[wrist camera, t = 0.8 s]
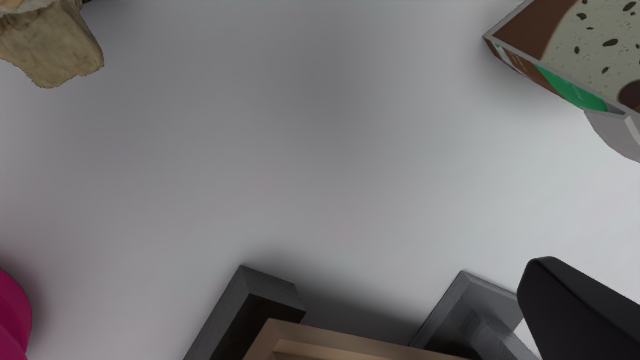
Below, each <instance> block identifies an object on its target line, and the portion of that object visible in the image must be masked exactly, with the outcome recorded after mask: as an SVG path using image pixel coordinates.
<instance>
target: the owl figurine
mask: <svg viewBox="0 0 640 360" xmlns="http://www.w3.org/2000/svg"><path fill="white" fill-rule="evenodd" d="M90 1H91V0H0V58H1V59H3V60H6V61H8V62H10V63H12V64H13V65H14V66H17V67H19V68H21V69H22V70H23V71H24V72H25V73H26V75H27V76H28V77H29V78H31V79H32V81H33V82H34V83H35V84H36V85H37V86H39V87H40V88H41V87H43V88H53V87H58V86H59V85H61V84H63V83H64V82H66V81H67V80H69V79H72V78H73V77H74V76H76V75H80V76H86V75H87V74H91V73H93V72H95V71H97V70H99V68H100V67H104V57H103V53H102V50H101V48H100V46H99V44H98V43H97V41H96V39H95V37H94V36H93V34H92V33H91V32H90V30H89V28H88V26H87V25H86V23H85V22H84V20H83V19H82V17H81V16H80V14H79V13H80V10H81V8H82V4H85V3H88V2H90Z"/></svg>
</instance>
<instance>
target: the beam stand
mask: <svg viewBox="0 0 640 360" xmlns="http://www.w3.org/2000/svg"><path fill="white" fill-rule="evenodd" d="M306 312H307V311H306V309H305V307H304V304H303V302H302V300H301V298H300V296H299V294H298V292H297V289H296V287H295V285H294V284H292V283H290V282H287V281H284V280H281V279H278V278H275V277H272V276H270V275H267V274H264V273H261V272H258V271H255V270H252V269H250V268H247V267H244V266H241V265H240V266H239V268H238V270H237V271H236V273H235V275H234V276H233V278H232V280H231V281H230V283H229V285H228V286H227V288H226V290H225V291H224V293H223V295H222V296H221V298H220V300H219V301H218V303H217V305H216V306H215V308H214V310H213V311H212V313H211V315H210V316H209V318H208V320H207V321H206V323H205V325H204V326H203V328H202V330H201V331H200V333H199V335H198V336H197V338H196V340H195V341H194V343H193V345H192V346H191V348H190V350H189V351H188V353H187V355H186V356H185V358H184V360H242V359H243V358H244V356H245V355H246V353H247V351H248V350H249V348H250V347H251V345H252V344H253V342H254V340H255V339H256V337H257V336H258V334H259V332H260V331H261V329H262V328H263V326H264V324H265V323H266V321H267V320H268V318H272V319H277V320H282V321H287V322H291V323H296V324H299V323H300V322H301V320H302V318H303V317H304V315H305V314H306ZM523 318H524V316H523V314H522V311H521V309H520V307H519V304H518V301H517V295H515V294H513V293H511V292H508V291H506V290H504V289H502V288H499V287H497V286H495V285H492V284H490V283H488V282H486V281H483V280H481V279H479V278H476V277H474V276H472V275H470V274H467V273H465V272H463V271H461V272H460V273H459V275H458V276H457V278H456V279H455V281H454V282H453V283H452V285H451V286H450V288H449V289H448V290H447V292H446V293H445V295H444V296H443V298H442V299H441V300H440V302H439V303H438V305H437V306H436V307H435V309H434V310H433V312H432V313H431V315H430V316H429V317H428V319H427V320H426V322H425V323H424V324H423V326H422V327H421V329H420V330H419V331H418V333H417V334H416V336H415V337H414V339H413V340H412V341H411V343H410V344H409V346H408V347H413V348H417V349H422V350H427V351H432V352H437V353H442V354H446V355H451V356H456V357H461V358H466V359H471V360H539V359H538V358H537V357H536V356H535V355H534V354H533V353H532V352H531V351H530V350H529V349H528V348H527V347H526V346H525V344H524V343H523V342H522V341H521V340H520V339H519V338H518V337H517V336H516V335H515V334H514V333H513V331H514V330H515V328H516V327H517V326H518V324H519V323H520V322H521V320H522V319H523Z"/></svg>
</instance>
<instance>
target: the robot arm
mask: <svg viewBox="0 0 640 360" xmlns="http://www.w3.org/2000/svg"><path fill="white" fill-rule="evenodd" d="M517 301H518V304H519V307H520V309H521V311H522V314H523V316H524V318H525V321H526V323H527V325H528V327H529V330H530V332H531V334H532V336H533V339H534V341H535V343H536V346H537V348H538V350H539V352H540V355H541V357H542V359H543V360H640V305H639V304H637V303H635V302H634V301H632V300H630V299H628V298H627V297H625V296H623V295H621V294H619V293H618V292H616V291H614V290H612V289H611V288H609V287H607V286H605V285H603V284H602V283H600V282H598V281H596V280H595V279H593V278H591V277H589V276H587V275H586V274H584V273H582V272H580V271H579V270H577V269H575V268H573V267H571V266H570V265H568V264H566V263H564V262H563V261H561V260H559V259H557V258H555V257H552V256H546V257H540V258H534V259H531V260H530V261H529V262H528V263H527V265H526V268H525V270H524V273H523V275H522V278H521V281H520V283H519V286H518V288H517Z"/></svg>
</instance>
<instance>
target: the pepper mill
mask: <svg viewBox="0 0 640 360" xmlns="http://www.w3.org/2000/svg"><path fill="white" fill-rule="evenodd" d="M31 325H32V312H31V307H30V304H29V301H28V299H27V297H26V295H25V293H24V291H23V290H22V289H21V287H20V286H19V285H18V284H17V283H16V282H15V281H14V280H13V279H12V278H11V277H10V276H9V275H7V274H6V273H5V272H4V271H2V270H0V360H27V358H26V356H25V352H26V348H27V344H28V339H29V335H30V331H31Z"/></svg>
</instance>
